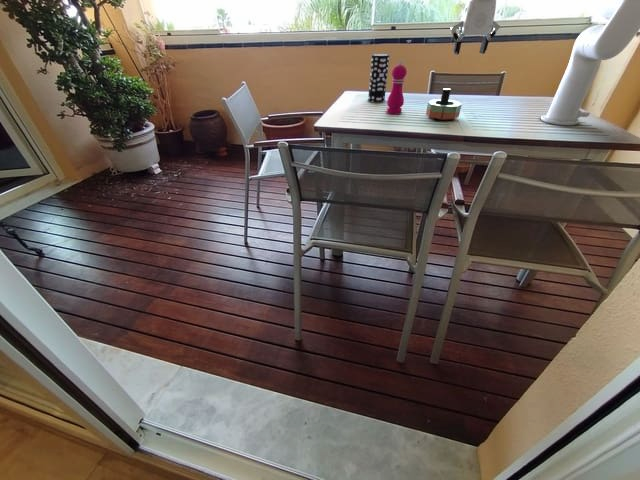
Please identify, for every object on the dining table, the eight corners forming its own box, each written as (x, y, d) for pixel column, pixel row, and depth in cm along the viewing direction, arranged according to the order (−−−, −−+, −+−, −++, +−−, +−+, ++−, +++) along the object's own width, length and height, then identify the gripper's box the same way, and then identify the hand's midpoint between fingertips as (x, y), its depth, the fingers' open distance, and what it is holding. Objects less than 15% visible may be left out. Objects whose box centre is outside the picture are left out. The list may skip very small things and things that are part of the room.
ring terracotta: (451, 111, 130) (452, 105, 129) (462, 118, 121) (464, 112, 119) (423, 111, 130) (424, 105, 129) (432, 119, 120) (433, 113, 119)
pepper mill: (382, 112, 133) (388, 61, 121) (391, 109, 137) (397, 59, 125) (396, 115, 129) (404, 62, 117) (405, 112, 133) (413, 60, 121)
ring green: (452, 105, 129) (454, 99, 128) (464, 112, 119) (465, 106, 118) (424, 105, 129) (425, 99, 127) (433, 113, 119) (434, 106, 118)
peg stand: (446, 114, 129) (453, 86, 123) (453, 120, 123) (460, 90, 116) (428, 115, 129) (434, 87, 123) (434, 120, 123) (440, 91, 116)
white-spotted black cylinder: (372, 98, 157) (376, 53, 145) (387, 100, 153) (392, 54, 141) (365, 101, 152) (368, 55, 140) (379, 103, 148) (384, 56, 136)
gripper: (461, -5, 99) (449, 55, 109) (514, -7, 99) (496, 53, 109) (453, -4, 105) (442, 53, 115) (502, -6, 105) (487, 52, 115)
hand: (469, 53), depth 112 cm, fingers open, 9 cm apart
